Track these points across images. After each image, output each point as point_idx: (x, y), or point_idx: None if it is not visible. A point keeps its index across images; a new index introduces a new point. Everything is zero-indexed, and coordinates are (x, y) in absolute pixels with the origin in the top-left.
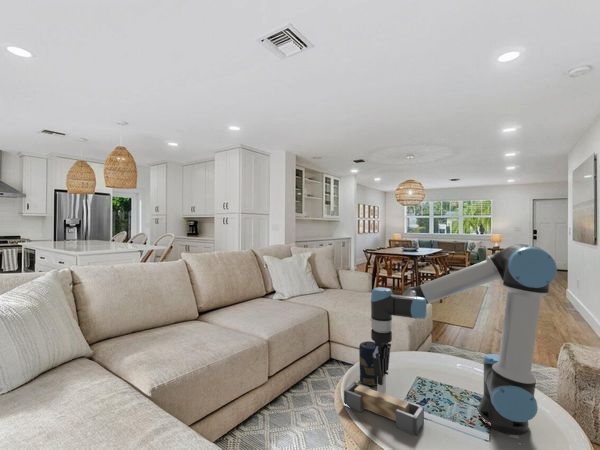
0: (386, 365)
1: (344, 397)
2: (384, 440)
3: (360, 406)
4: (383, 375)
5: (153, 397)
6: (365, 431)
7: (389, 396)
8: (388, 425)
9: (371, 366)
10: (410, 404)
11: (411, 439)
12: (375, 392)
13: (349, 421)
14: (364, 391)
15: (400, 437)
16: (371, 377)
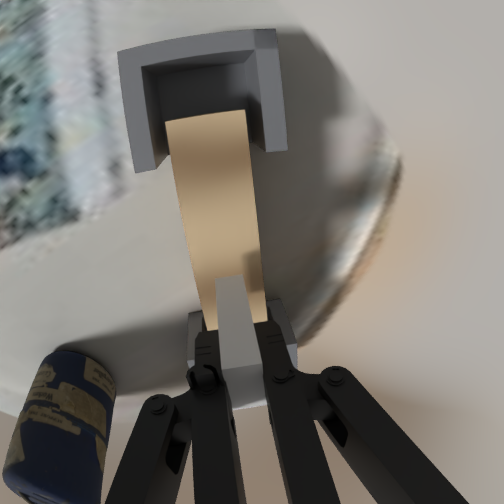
0: (195, 449)
1: None
2: (371, 141)
3: (282, 314)
4: (282, 373)
5: None
6: (368, 220)
7: (195, 249)
8: (276, 172)
9: (81, 427)
10: (149, 121)
11: (293, 56)
12: None
13: (351, 290)
14: None
15: (314, 96)
16: (91, 387)
